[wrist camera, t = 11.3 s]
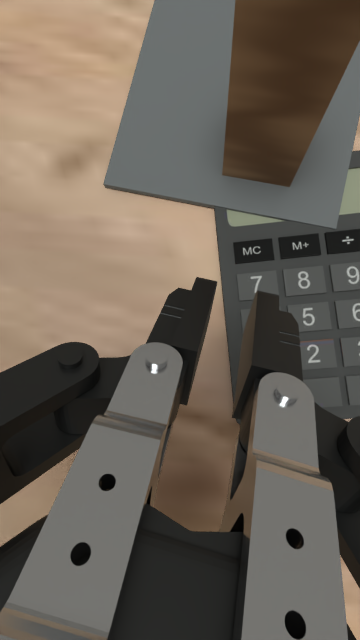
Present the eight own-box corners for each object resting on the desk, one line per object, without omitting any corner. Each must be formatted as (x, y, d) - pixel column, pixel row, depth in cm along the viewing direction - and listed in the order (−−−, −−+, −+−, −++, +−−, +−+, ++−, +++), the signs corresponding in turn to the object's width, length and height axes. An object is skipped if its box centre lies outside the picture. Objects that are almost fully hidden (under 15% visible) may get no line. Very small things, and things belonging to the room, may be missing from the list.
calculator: (236, 426, 17) (210, 167, 19) (235, 423, 18) (210, 176, 20) (465, 411, 17) (415, 141, 18) (452, 408, 17) (405, 151, 19)
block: (221, 175, 19) (236, -19, 9) (236, 114, 20) (265, -135, 10) (289, 187, 19) (380, -3, 9) (303, 124, 19) (405, -126, 9)
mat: (105, 187, 20) (103, 184, 20) (159, -8, 21) (159, -15, 21) (333, 231, 19) (336, 228, 18) (377, 17, 20) (380, 11, 20)
